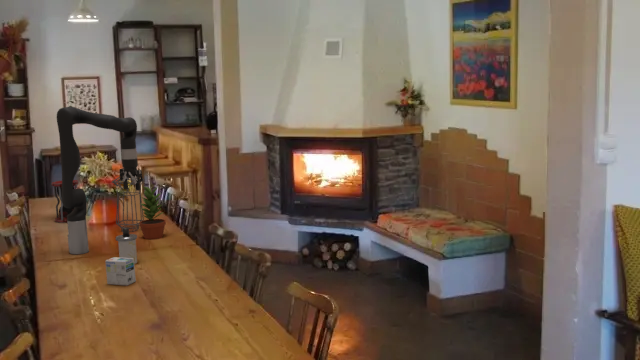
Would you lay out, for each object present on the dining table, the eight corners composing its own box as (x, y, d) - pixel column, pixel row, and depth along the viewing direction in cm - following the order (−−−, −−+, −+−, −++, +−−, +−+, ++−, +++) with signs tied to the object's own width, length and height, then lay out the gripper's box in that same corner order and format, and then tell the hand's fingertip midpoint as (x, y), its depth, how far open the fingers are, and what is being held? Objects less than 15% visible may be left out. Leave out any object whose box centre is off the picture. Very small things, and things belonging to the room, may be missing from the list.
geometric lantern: (123, 227, 429) (120, 169, 424) (148, 227, 427) (145, 169, 422) (112, 232, 414) (109, 173, 409) (138, 233, 411) (135, 173, 407)
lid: (111, 239, 343) (110, 229, 342) (127, 235, 351) (126, 225, 351) (125, 242, 338) (124, 231, 337) (141, 237, 346) (140, 227, 345)
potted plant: (173, 235, 403) (169, 182, 398) (153, 241, 390) (149, 187, 385) (154, 232, 411) (150, 181, 406) (134, 238, 398) (130, 185, 393)
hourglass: (50, 222, 449) (46, 183, 445) (63, 217, 465) (59, 179, 461) (73, 223, 446) (70, 183, 442) (86, 217, 462) (82, 179, 458)
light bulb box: (136, 281, 314) (134, 257, 313) (127, 285, 308) (125, 261, 307) (115, 279, 318) (113, 256, 316) (106, 284, 312) (104, 260, 310)
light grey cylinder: (132, 265, 342) (130, 240, 340) (116, 265, 343) (115, 240, 341) (140, 260, 349) (138, 237, 348) (124, 260, 351) (122, 236, 349)
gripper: (114, 158, 357) (116, 190, 359) (133, 159, 349) (135, 191, 351) (125, 156, 363) (128, 187, 365) (145, 157, 355) (147, 189, 357)
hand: (131, 189), depth 358 cm, fingers open, 8 cm apart
